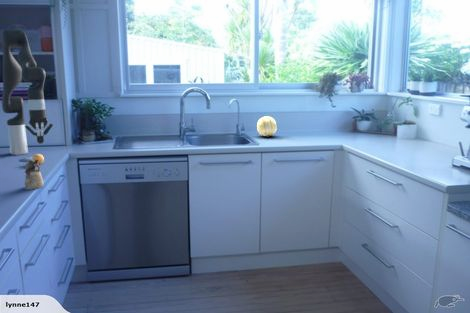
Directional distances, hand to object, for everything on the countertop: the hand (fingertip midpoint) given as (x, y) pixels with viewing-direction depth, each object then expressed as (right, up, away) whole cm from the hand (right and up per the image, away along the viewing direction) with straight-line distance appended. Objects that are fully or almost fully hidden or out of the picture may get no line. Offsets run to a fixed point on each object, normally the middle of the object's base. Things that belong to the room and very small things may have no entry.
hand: (40, 143), depth 212 cm
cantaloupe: (+121, +8, +97) cm, 155 cm away
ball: (-6, -8, +10) cm, 14 cm away
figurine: (+12, -20, -33) cm, 40 cm away
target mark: (-15, -8, +23) cm, 28 cm away
